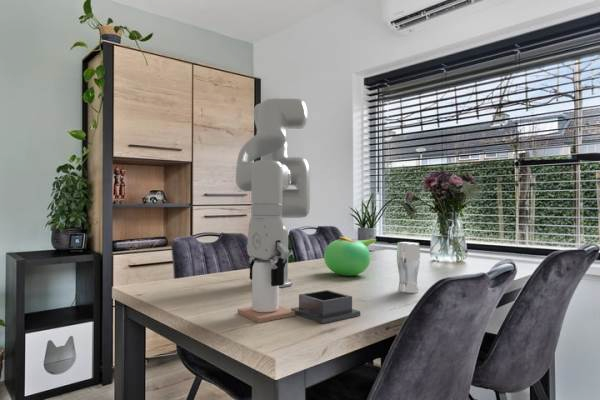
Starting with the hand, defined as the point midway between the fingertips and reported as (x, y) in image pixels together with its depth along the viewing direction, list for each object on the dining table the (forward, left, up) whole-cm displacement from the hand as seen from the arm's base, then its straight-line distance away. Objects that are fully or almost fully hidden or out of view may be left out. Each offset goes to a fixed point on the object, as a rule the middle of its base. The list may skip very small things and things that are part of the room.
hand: (266, 282), depth 100 cm
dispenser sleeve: (+8, +12, -8) cm, 16 cm away
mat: (0, 0, -8) cm, 8 cm away
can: (0, 0, -7) cm, 7 cm away
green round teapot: (-29, +55, -8) cm, 63 cm away
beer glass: (+3, +50, -8) cm, 51 cm away
